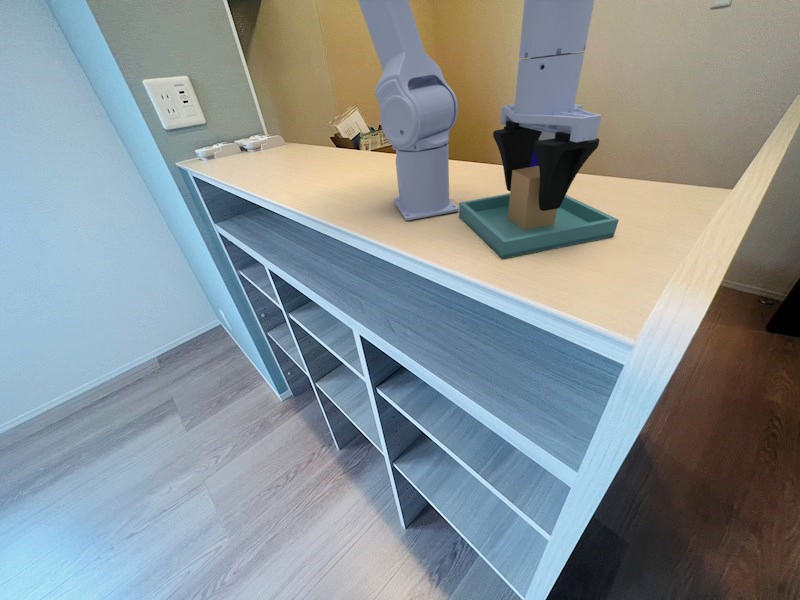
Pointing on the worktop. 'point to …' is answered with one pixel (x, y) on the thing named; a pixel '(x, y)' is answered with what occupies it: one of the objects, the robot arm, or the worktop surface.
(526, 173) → the tan rectangular block
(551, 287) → the worktop surface
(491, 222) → the teal tray
